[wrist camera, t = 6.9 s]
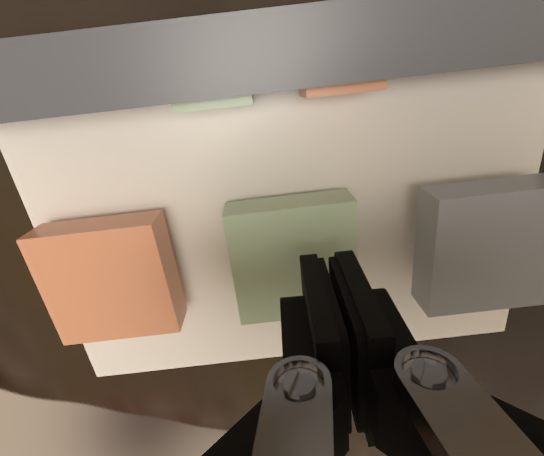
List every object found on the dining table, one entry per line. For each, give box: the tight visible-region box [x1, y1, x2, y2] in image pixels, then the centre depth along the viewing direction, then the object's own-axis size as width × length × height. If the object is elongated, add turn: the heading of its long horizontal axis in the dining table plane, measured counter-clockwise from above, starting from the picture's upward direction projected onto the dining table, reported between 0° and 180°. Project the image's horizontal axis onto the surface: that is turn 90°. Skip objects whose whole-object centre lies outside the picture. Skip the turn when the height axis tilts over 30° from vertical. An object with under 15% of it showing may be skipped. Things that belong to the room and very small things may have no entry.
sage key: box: [222, 188, 358, 325], centre depth 13 cm, size 5×5×2 cm
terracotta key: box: [16, 209, 187, 345], centre depth 13 cm, size 5×5×2 cm
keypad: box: [0, 0, 544, 377], centre depth 14 cm, size 20×14×5 cm
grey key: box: [411, 173, 544, 318], centre depth 12 cm, size 5×5×2 cm
